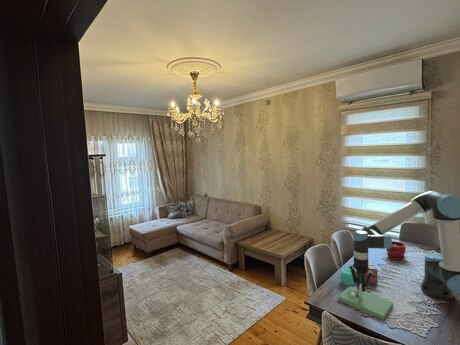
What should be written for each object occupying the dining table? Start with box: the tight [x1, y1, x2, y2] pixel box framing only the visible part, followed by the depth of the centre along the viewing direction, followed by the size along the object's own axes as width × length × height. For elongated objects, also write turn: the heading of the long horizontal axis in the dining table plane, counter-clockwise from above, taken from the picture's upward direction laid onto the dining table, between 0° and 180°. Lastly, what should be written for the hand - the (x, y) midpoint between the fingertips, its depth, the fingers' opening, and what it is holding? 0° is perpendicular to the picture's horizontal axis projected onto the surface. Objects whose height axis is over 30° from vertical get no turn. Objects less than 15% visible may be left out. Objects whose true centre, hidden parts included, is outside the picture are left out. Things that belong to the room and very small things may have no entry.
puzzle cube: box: [361, 262, 378, 284], centre depth 163 cm, size 10×10×10 cm
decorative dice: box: [339, 268, 356, 287], centre depth 161 cm, size 8×8×8 cm
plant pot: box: [386, 240, 406, 261], centre depth 192 cm, size 13×13×12 cm
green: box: [337, 270, 394, 321], centre depth 138 cm, size 24×16×14 cm, turn 40°
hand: (361, 295), depth 140 cm, fingers closed
